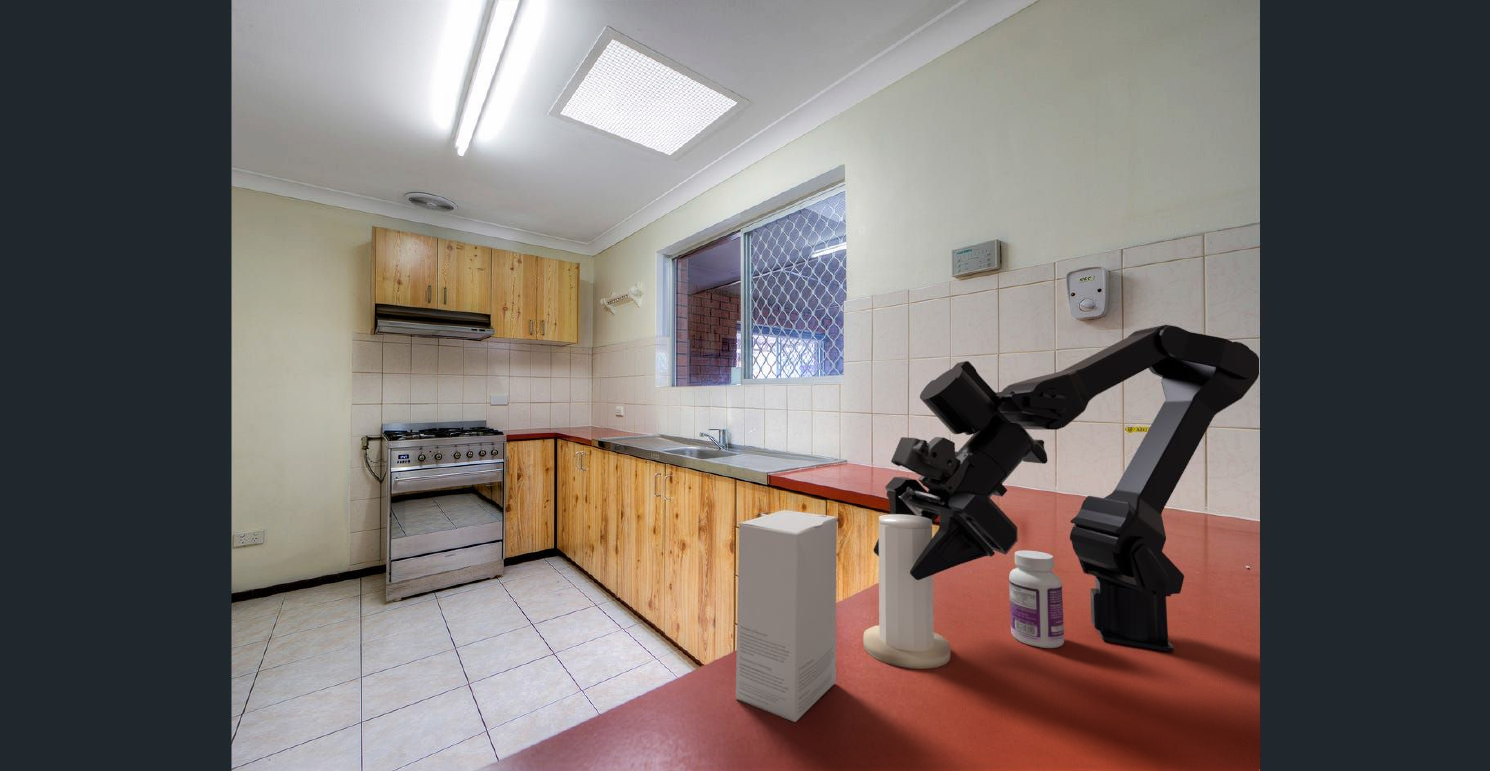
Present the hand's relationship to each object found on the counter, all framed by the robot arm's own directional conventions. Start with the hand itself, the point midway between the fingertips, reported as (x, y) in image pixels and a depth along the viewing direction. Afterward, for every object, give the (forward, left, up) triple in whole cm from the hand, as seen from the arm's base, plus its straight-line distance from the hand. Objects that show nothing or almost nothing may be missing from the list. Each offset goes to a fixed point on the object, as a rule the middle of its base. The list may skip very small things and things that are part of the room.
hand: (893, 564), depth 56 cm
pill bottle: (-14, -11, -9) cm, 20 cm away
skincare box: (+7, +14, -9) cm, 18 cm away
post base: (-1, -1, -9) cm, 9 cm away
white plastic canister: (-1, -1, -8) cm, 8 cm away
